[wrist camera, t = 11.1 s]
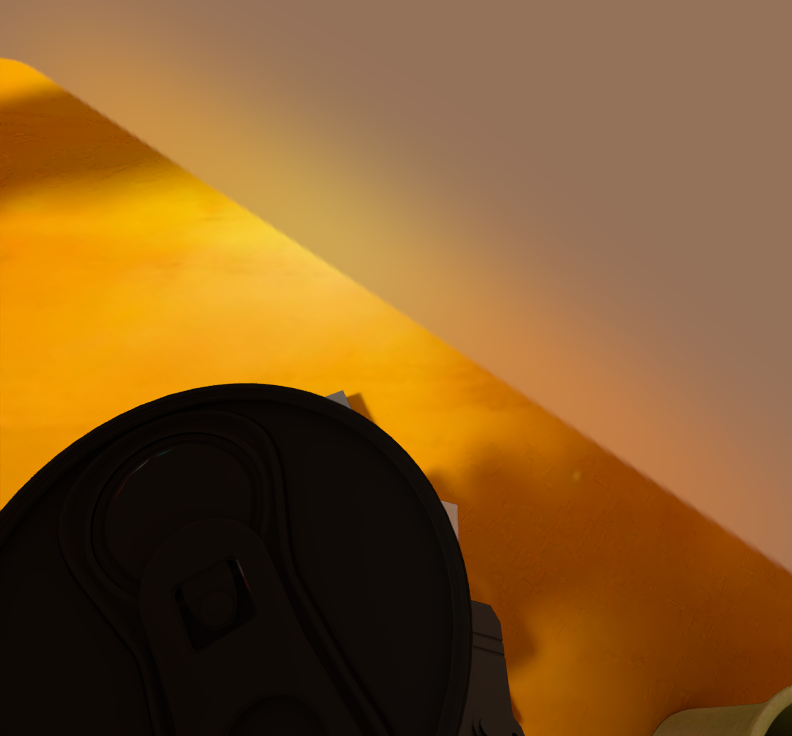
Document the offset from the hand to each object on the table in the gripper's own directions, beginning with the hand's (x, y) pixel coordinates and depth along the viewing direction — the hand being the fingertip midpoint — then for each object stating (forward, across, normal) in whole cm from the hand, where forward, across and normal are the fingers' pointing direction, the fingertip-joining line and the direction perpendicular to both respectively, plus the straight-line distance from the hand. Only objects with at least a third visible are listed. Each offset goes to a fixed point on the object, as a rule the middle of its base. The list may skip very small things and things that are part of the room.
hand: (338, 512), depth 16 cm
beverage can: (+1, 0, -6) cm, 7 cm away
